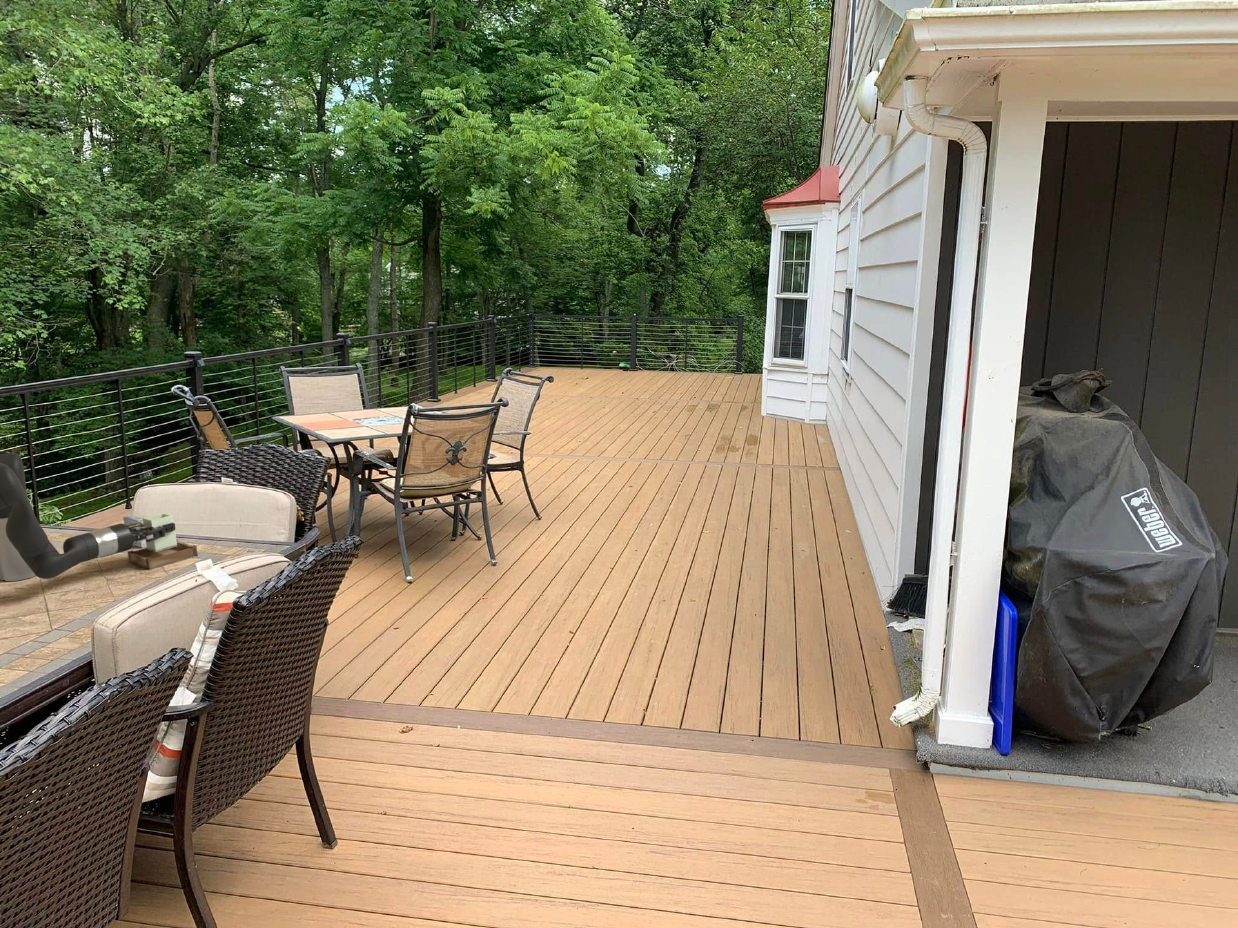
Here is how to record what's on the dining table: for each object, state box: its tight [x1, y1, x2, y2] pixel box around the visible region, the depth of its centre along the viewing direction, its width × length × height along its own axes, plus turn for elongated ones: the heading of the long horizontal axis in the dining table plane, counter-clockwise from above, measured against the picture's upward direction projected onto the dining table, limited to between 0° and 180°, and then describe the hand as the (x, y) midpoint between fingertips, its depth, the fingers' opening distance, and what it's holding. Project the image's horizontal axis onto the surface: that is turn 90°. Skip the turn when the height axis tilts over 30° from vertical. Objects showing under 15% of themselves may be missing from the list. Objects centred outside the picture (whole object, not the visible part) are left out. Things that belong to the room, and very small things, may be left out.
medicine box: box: [123, 513, 150, 549], centre depth 264 cm, size 8×4×9 cm, turn 58°
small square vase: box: [143, 512, 177, 552], centre depth 250 cm, size 5×6×9 cm
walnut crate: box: [127, 538, 199, 570], centre depth 251 cm, size 12×14×3 cm
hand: (167, 524), depth 252 cm, fingers closed on small square vase, 5 cm apart
